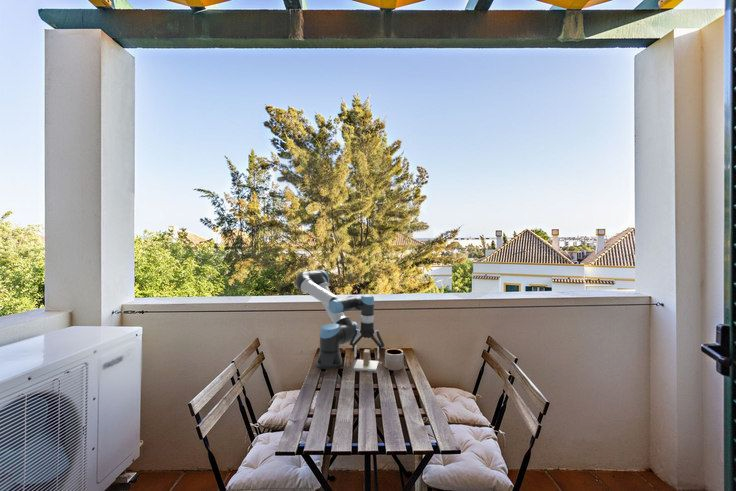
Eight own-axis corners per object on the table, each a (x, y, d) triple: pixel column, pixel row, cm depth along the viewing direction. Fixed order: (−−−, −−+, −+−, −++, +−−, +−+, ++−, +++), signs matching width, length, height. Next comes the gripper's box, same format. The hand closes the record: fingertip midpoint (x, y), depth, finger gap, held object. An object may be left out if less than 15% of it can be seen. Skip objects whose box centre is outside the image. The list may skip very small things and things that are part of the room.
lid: (353, 369, 212) (353, 353, 211) (357, 361, 225) (357, 346, 224) (376, 371, 210) (376, 355, 210) (378, 362, 223) (379, 347, 222)
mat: (349, 371, 210) (349, 370, 210) (354, 360, 227) (354, 359, 227) (379, 373, 208) (379, 372, 208) (382, 362, 225) (382, 361, 225)
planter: (407, 368, 216) (407, 352, 215) (392, 372, 210) (392, 356, 209) (395, 362, 225) (395, 347, 224) (381, 366, 219) (381, 350, 218)
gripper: (344, 322, 214) (344, 358, 215) (388, 324, 210) (387, 361, 212) (347, 319, 221) (347, 353, 223) (389, 321, 218) (388, 356, 219)
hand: (366, 357), depth 217 cm, fingers open, 13 cm apart
